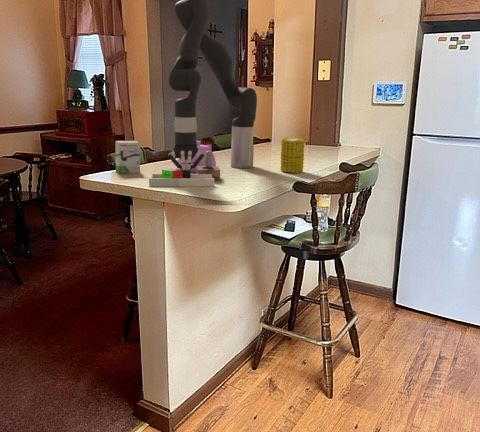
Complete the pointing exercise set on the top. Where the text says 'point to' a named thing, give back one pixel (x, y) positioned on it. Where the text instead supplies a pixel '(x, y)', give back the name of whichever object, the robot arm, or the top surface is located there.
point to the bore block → (210, 172)
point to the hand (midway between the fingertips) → (186, 180)
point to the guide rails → (197, 180)
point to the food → (292, 155)
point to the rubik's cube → (171, 173)
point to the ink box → (127, 156)
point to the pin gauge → (208, 160)
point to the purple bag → (202, 163)
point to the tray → (162, 180)
